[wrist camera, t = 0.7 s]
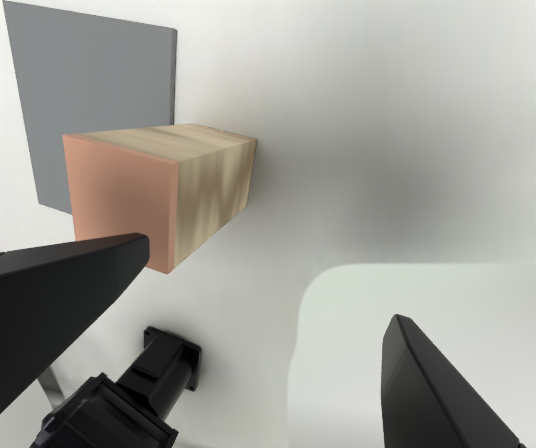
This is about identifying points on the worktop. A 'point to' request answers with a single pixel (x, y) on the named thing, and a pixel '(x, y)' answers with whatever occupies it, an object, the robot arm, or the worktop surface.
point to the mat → (85, 83)
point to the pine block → (158, 185)
